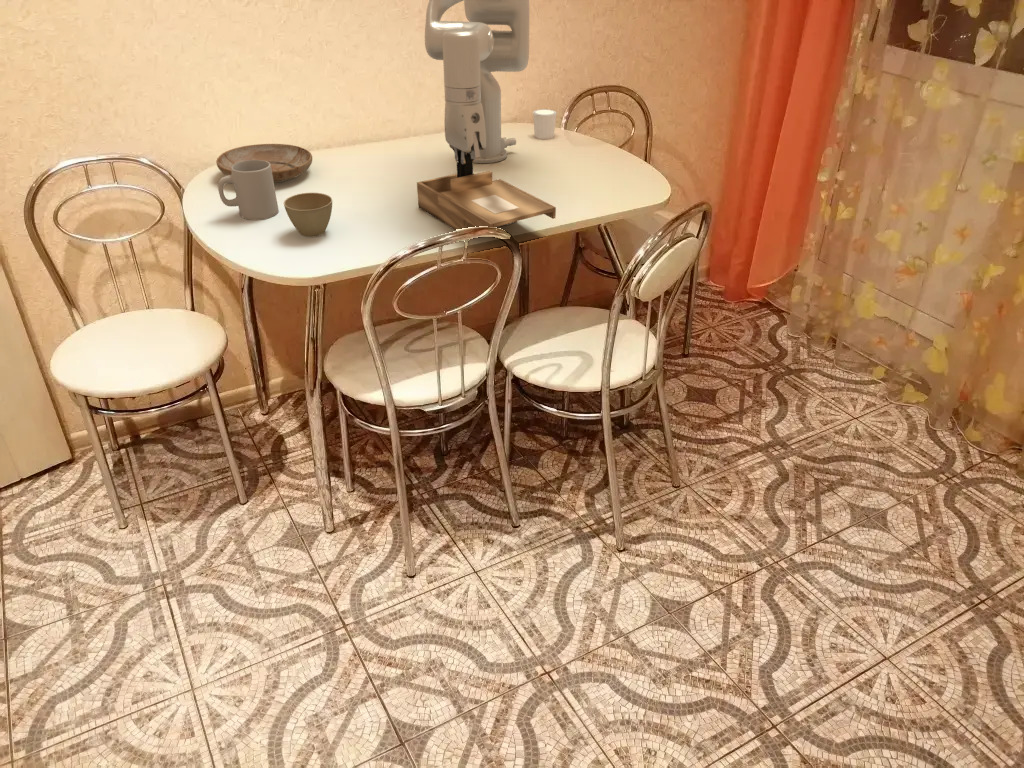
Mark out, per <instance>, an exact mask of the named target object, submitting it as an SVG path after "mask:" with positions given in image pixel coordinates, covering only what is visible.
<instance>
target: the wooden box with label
mask: <svg viewBox="0 0 1024 768" xmlns="http://www.w3.org/2000/svg"><path fill="white" fill-rule="evenodd" d="M450 180H451V190H450V191H446V192H441V193H438V204H439V205H441V206H442V207H444V208H446V209H447V210H449V211H451V212H452V213H454V214H456V215H457V216H459V217H461V218H462V219H464V220H466V221H467V222H469V223H471V224H472V225H474V226H476V227H479V226H488V227H497V226H501V225H504V224H508V223H512V222H516V221H518V222H519V221H522V220H526V219H529V218H530V219H531V218H534V217H538V216H542V215H544V216H547V217H548V218H551V219H553V220H554V219H556V212H557V209H556V208H557V207H556V206H554V205H552V204H550V203H548V202H546V201H544V200H542V199H540V198H538V197H536V196H534V195H532V194H530V193H528V192H526V191H524V190H523V189H520V188H518V187H516V186H514V185H513V184H510V183H508V182H506V181H505V180H503V179H501V178H499V179H495V180H493V172H492V171H490V170H487V171H483V172H478V173H474V174H473V175H468V176H463V177H459V178H454V179H450ZM516 223H517V222H516ZM512 224H513V223H512ZM508 225H509V224H508ZM504 226H505V225H504ZM501 227H502V226H501ZM497 228H498V227H497Z"/></svg>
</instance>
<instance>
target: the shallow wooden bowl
mask: <svg viewBox="0 0 1024 768" xmlns="http://www.w3.org/2000/svg"><path fill="white" fill-rule="evenodd" d="M246 160H264V161H267V162H269V163H270V165H271V170H272V176H273V181H274V184H275V183H279V182H284V181H288V180H291V179H294V178H297V177H298V176H301V175H303V174H304V173H306V171H307V170H309V168H310V167H311V165H312V163H313V154H312V152H310V150H308V149H307V148H303V147H302V146H299V145H293V144H285V143H258V144H249V145H242V146H238V147H235V148H232V149H229V150H227V151H224V152H223V153H221V154H220V155H219V156H218V157H216V160H215V162H216V166H217V168H218V170H219V171H220V172H221V173H222V174H223V175H224V176H228V175H231V174H232V172H231V167H232V165H234V164H235V163H238V162H241V161H246Z"/></svg>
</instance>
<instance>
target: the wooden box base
mask: <svg viewBox="0 0 1024 768" xmlns="http://www.w3.org/2000/svg"><path fill="white" fill-rule="evenodd" d="M473 174H475V173H474V172H473ZM454 178H457V173H453V174H450V175H449V174H448V175H445V176H440V177H435V178H431V179H427V180H422V181H421V180H420V181H417V182H416V189H417V203H418V204H417V206H418V208H419V209H420V210H422V211H423V212H425V213H426V214H428V215H430V216H432V217H433V218H434V219H436V220H437V221H439V222H441V223H442V224H444V225H445V226H447V227H449V228H450V229H452V230H453V231H455V230H456V229H462V228H468V227H475V226H474V225H472V224H471V223H469V222H467V221H466V220H464V219H462V218H461V217H459V216H457V215H456V214H454V213H452V212H451V211H449V210H447V209H446V208H444V207H442V206H441V205H439V204H438V193H441V192H446V191H450V190H451V180H450V179H454ZM518 222H519V221H516V222H512V223H508V224H504V225H501V226H497V228H500V227H503V226H507V225H511V224H515V223H518Z"/></svg>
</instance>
